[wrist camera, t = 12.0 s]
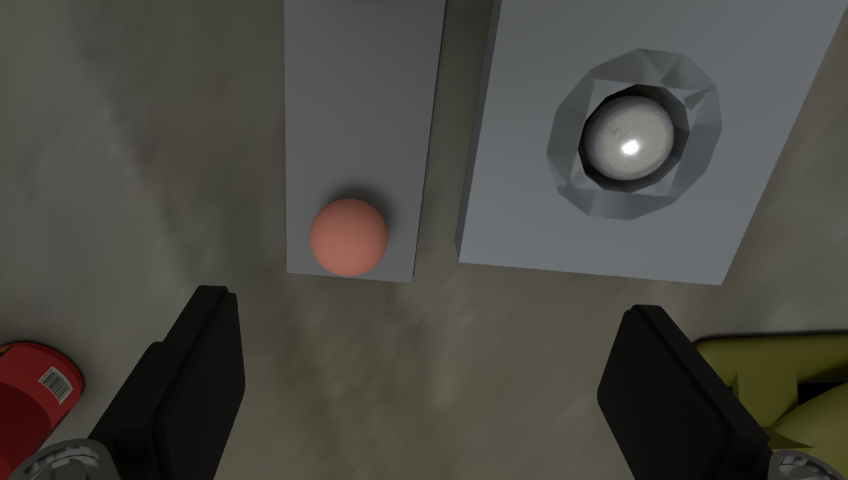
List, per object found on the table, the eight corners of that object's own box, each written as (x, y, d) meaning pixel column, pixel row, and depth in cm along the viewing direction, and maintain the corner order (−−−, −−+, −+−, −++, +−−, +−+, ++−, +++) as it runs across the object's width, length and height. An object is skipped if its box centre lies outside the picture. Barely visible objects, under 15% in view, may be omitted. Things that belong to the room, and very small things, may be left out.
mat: (283, -169, 27) (281, -171, 26) (462, -142, 28) (463, -144, 27) (288, 269, 39) (287, 272, 39) (411, 280, 40) (411, 283, 40)
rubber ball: (317, 183, 36) (302, 213, 31) (392, 191, 36) (389, 221, 31) (315, 249, 38) (301, 287, 33) (386, 256, 38) (382, 294, 33)
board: (501, -54, 30) (512, -59, 26) (809, -11, 31) (854, -12, 28) (454, 240, 38) (458, 261, 35) (696, 262, 40) (721, 285, 37)
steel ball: (585, 84, 33) (614, 100, 28) (662, 93, 34) (704, 110, 29) (565, 161, 36) (589, 188, 31) (637, 168, 36) (672, 196, 31)
